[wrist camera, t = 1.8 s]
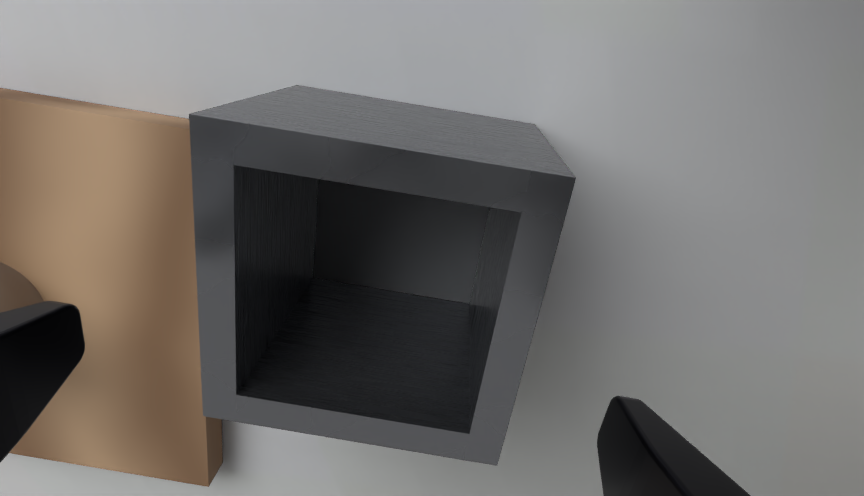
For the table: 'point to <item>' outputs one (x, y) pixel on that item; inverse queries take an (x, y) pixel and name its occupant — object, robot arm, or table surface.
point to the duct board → (109, 281)
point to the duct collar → (357, 305)
